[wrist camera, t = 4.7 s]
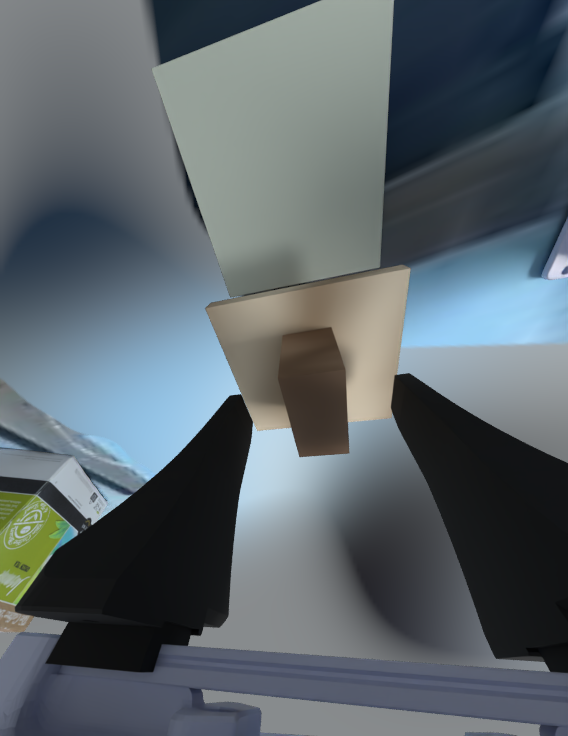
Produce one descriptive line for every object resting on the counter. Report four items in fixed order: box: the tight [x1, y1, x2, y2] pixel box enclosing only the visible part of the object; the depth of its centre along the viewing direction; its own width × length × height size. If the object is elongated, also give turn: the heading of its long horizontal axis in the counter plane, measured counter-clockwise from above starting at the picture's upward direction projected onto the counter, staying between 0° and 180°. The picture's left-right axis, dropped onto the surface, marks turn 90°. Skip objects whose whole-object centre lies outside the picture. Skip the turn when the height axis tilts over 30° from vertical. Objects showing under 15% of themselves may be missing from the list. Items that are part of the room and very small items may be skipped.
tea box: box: [0, 448, 108, 632], centre depth 27 cm, size 15×10×15 cm
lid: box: [205, 265, 411, 457], centre depth 11 cm, size 9×9×4 cm
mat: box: [152, 0, 394, 297], centre depth 11 cm, size 10×10×1 cm
